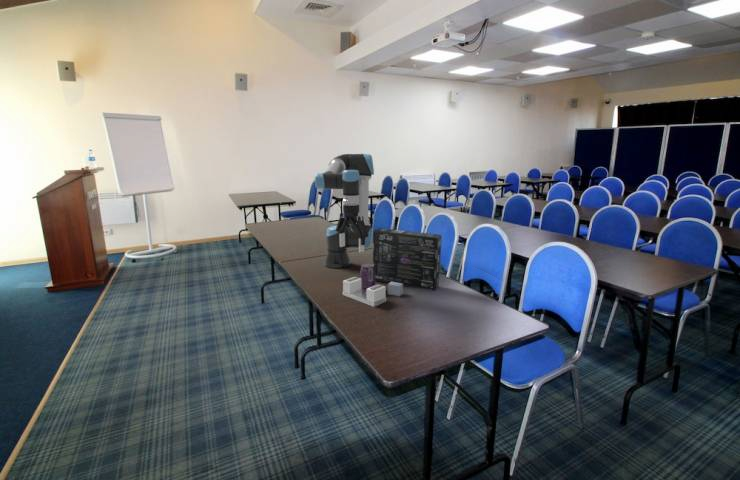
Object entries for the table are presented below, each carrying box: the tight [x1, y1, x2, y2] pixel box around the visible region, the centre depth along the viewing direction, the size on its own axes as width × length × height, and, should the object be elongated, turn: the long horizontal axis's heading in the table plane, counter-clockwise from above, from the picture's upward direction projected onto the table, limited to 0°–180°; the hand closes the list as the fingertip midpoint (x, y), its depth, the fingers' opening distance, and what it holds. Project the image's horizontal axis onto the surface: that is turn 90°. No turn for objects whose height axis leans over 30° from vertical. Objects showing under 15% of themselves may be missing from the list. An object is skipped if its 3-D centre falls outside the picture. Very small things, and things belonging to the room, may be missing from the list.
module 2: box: [366, 283, 387, 302], centre depth 162 cm, size 8×4×6 cm, turn 137°
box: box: [372, 228, 442, 291], centre depth 183 cm, size 33×7×27 cm, turn 65°
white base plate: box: [342, 289, 387, 308], centre depth 167 cm, size 8×20×2 cm, turn 47°
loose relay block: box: [387, 282, 404, 297], centre depth 172 cm, size 4×6×5 cm, turn 62°
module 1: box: [342, 276, 362, 293], centre depth 172 cm, size 8×4×6 cm, turn 137°
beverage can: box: [360, 262, 376, 290], centre depth 178 cm, size 7×7×12 cm
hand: (351, 249), depth 173 cm, fingers open, 13 cm apart
